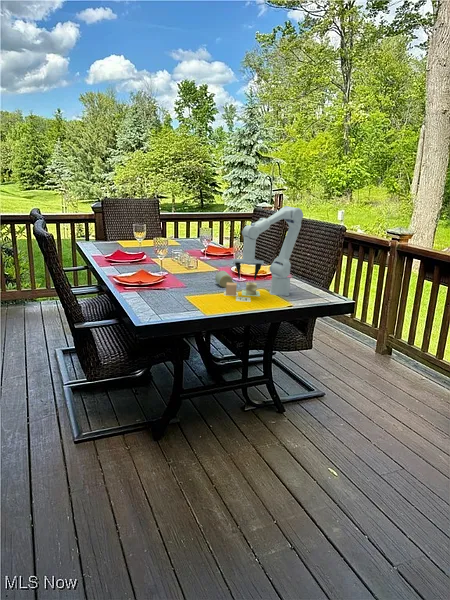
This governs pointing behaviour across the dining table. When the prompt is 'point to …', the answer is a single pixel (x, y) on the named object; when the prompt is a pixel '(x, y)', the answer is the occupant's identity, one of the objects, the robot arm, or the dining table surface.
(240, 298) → the code tile
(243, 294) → the coaster
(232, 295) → the code tile
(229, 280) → the ceramic mug
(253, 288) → the birch block
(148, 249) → the dining table surface
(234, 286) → the terracotta block
